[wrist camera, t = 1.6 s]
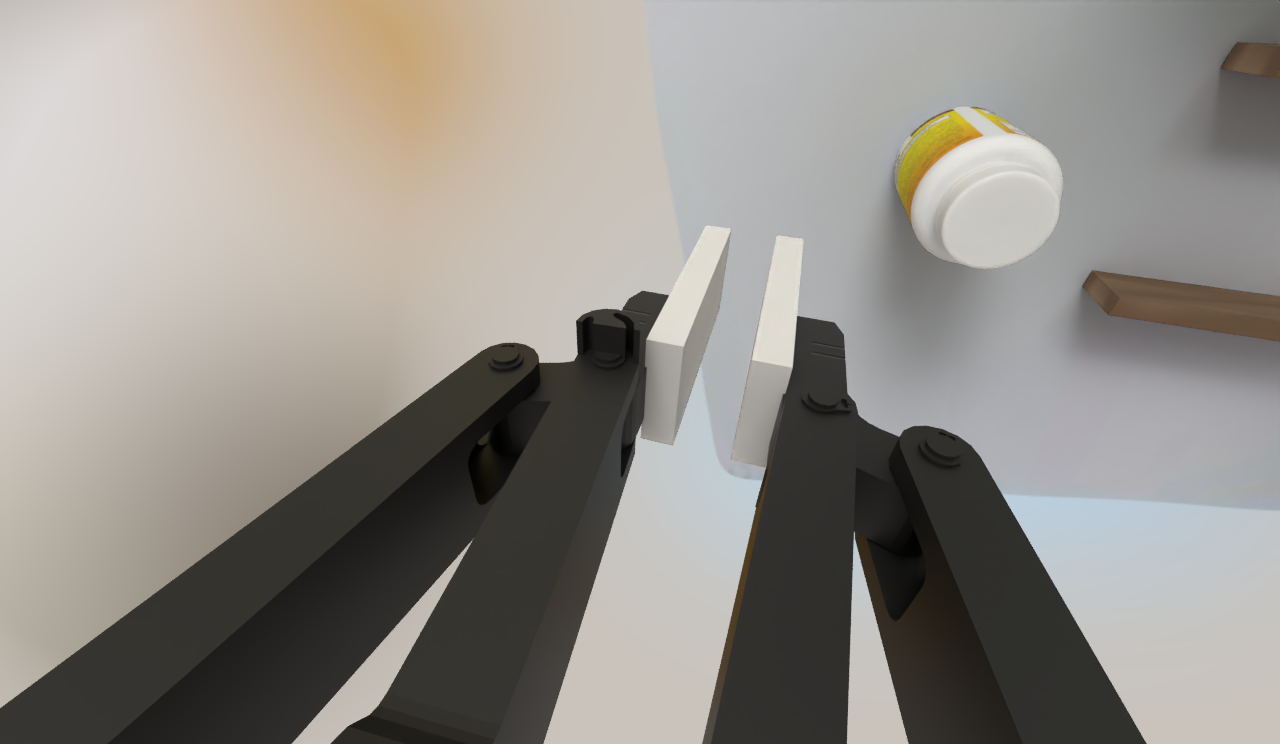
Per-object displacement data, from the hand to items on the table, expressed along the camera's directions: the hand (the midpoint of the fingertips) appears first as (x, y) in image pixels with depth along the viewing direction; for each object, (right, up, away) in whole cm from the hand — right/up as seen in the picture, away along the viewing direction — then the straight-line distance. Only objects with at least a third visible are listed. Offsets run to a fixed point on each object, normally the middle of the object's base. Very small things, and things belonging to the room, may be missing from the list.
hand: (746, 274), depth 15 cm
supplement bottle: (+14, +9, +13) cm, 21 cm away
